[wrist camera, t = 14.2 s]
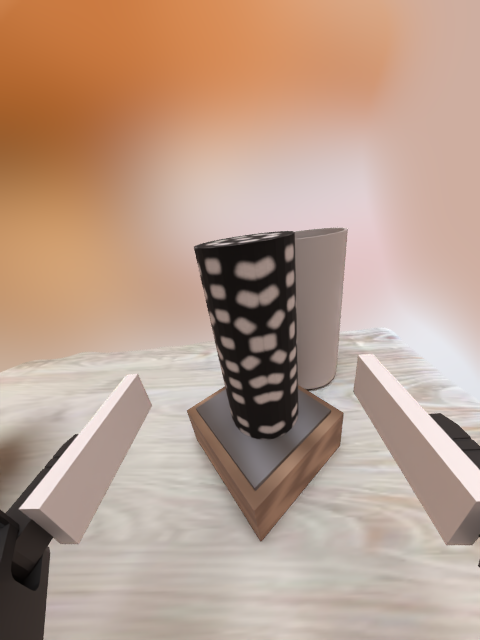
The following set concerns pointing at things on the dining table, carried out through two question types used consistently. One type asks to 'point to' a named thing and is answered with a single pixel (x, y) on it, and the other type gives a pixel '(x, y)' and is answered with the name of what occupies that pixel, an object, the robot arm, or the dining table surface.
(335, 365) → the cylinder vase
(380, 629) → the dining table surface
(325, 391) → the dining table surface
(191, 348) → the dining table surface
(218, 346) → the spotted tube
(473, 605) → the dining table surface
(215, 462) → the display pedestal
